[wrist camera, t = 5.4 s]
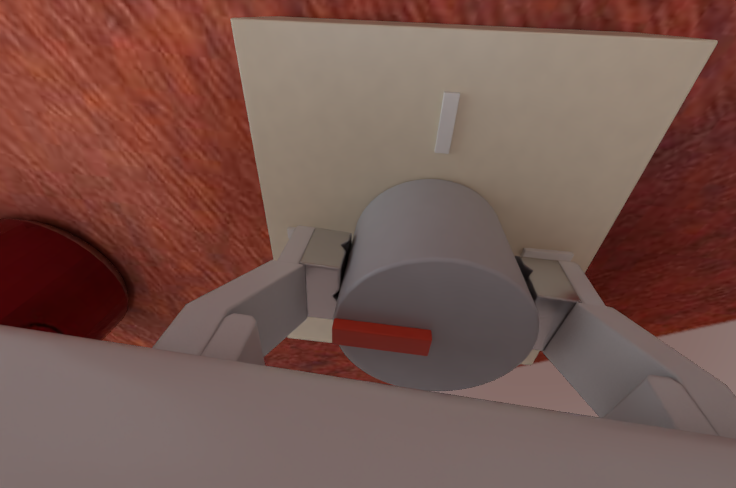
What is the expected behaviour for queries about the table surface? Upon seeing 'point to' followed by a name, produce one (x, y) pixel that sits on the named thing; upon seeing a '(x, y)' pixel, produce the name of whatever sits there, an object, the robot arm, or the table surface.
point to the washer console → (458, 122)
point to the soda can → (57, 282)
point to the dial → (433, 291)
